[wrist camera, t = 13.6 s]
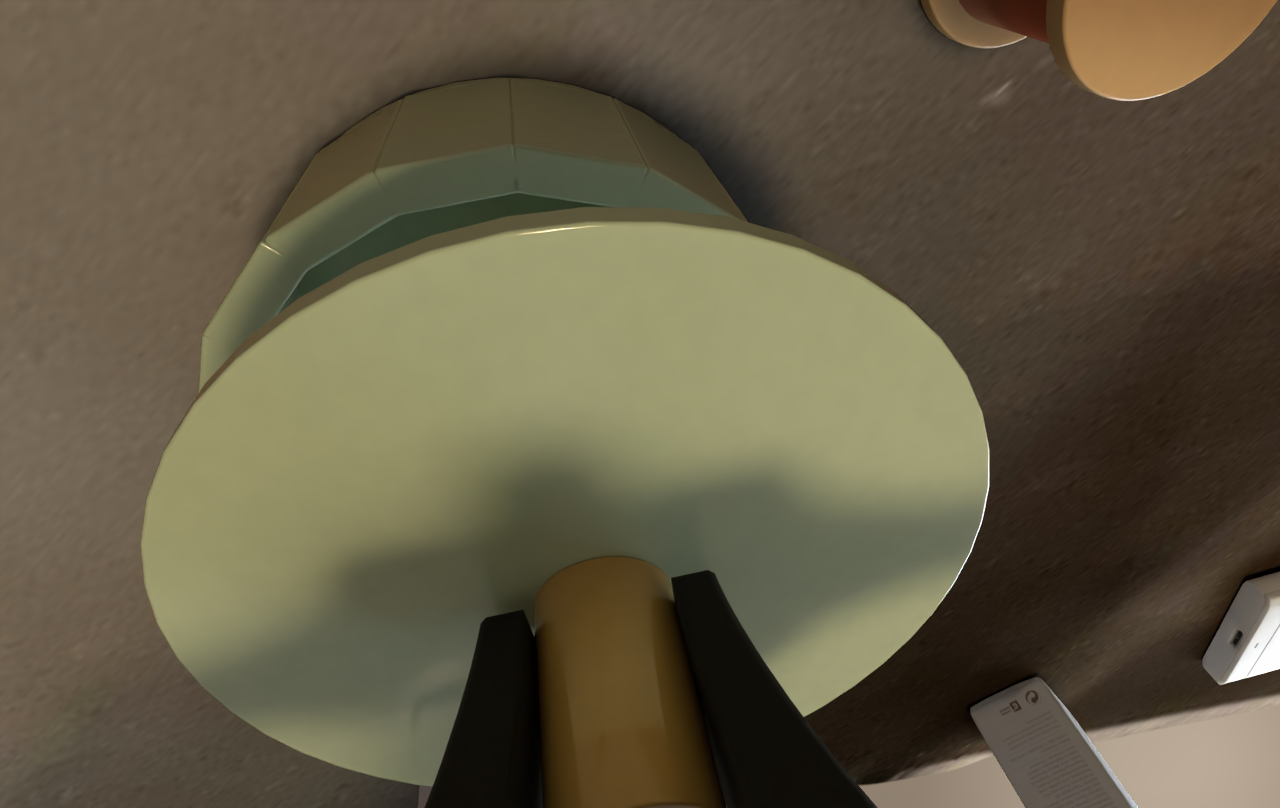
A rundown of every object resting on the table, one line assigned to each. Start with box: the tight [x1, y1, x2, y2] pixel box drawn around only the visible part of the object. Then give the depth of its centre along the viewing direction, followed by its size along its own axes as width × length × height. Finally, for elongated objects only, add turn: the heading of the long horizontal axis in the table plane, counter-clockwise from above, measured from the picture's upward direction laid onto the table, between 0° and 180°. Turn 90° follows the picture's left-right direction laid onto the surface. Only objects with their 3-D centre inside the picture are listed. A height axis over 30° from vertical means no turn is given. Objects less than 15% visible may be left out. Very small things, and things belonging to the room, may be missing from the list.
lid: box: [141, 207, 989, 808], centre depth 11 cm, size 14×14×5 cm
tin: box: [198, 78, 749, 394], centre depth 17 cm, size 13×13×5 cm
